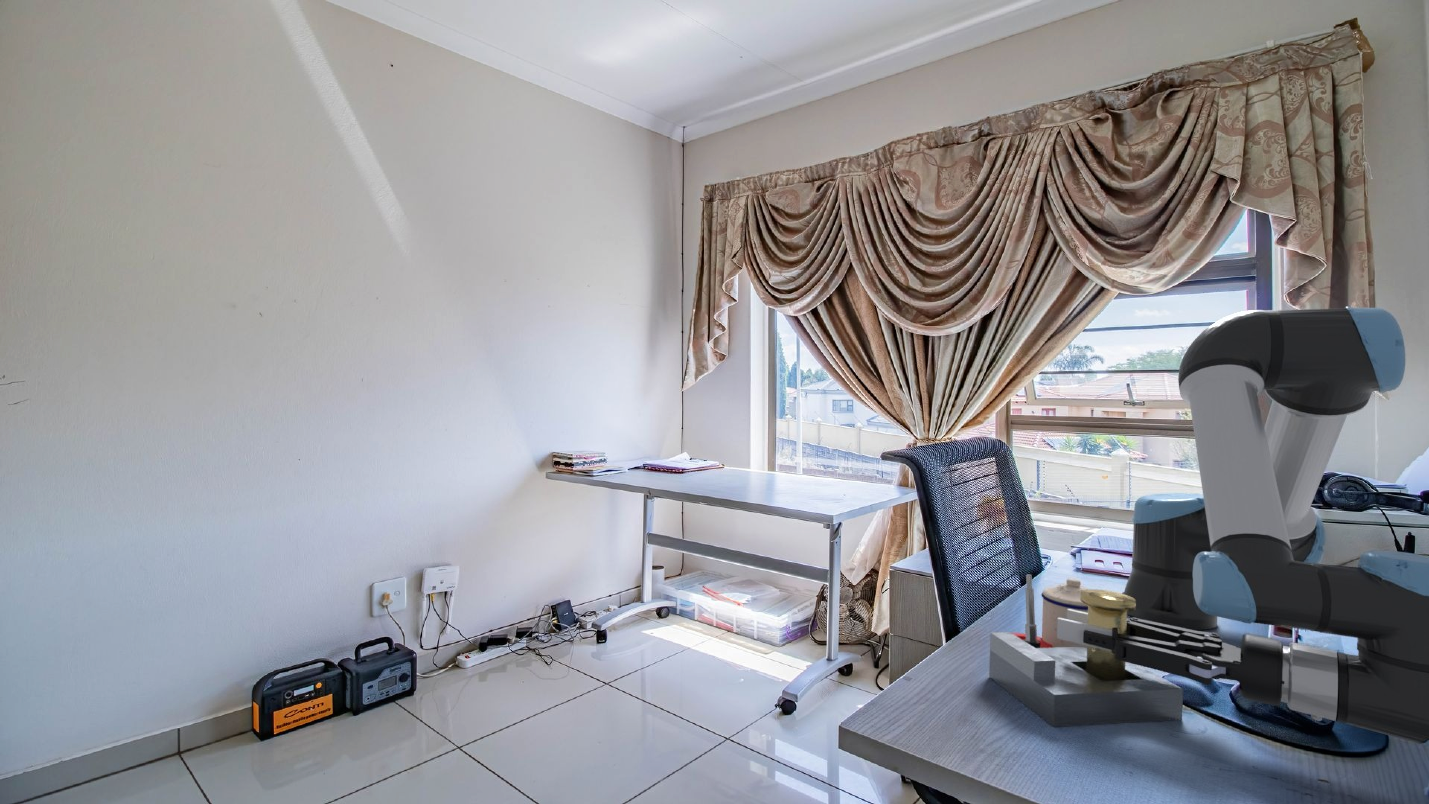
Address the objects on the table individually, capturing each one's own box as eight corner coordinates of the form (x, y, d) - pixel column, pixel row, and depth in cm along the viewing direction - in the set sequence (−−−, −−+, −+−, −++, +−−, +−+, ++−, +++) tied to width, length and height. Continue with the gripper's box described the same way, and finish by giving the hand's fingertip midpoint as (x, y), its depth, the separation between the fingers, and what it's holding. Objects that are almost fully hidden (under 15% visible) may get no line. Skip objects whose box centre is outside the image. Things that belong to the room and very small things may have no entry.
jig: (1100, 672, 95) (1102, 629, 95) (1182, 720, 82) (1183, 669, 81) (989, 677, 93) (990, 632, 93) (1053, 726, 79) (1055, 674, 79)
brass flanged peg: (1108, 673, 90) (1111, 588, 90) (1145, 694, 84) (1147, 603, 84) (1067, 675, 89) (1069, 589, 89) (1101, 696, 83) (1103, 604, 83)
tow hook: (988, 639, 109) (1005, 659, 99) (986, 562, 109) (1002, 575, 100) (1041, 640, 107) (1062, 661, 98) (1038, 563, 108) (1059, 576, 99)
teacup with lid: (1101, 668, 97) (1103, 591, 97) (1035, 652, 102) (1037, 580, 102) (1108, 644, 107) (1110, 574, 107) (1047, 631, 112) (1049, 565, 112)
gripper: (1283, 734, 68) (1044, 668, 84) (1283, 682, 81) (1077, 633, 97) (1285, 664, 68) (1046, 611, 84) (1285, 623, 81) (1078, 584, 97)
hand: (1063, 623), depth 90 cm, fingers closed on brass flanged peg, 4 cm apart
